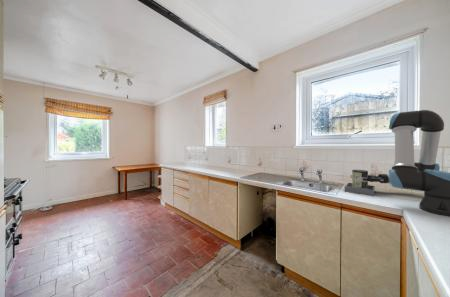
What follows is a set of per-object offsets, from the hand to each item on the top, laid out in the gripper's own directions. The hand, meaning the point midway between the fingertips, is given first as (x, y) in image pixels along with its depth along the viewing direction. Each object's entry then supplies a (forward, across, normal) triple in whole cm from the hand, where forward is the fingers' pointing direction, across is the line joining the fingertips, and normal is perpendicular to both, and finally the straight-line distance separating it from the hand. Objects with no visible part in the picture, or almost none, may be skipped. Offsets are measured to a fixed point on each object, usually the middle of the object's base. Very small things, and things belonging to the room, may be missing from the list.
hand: (353, 177), depth 138 cm
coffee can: (-4, 0, -8) cm, 9 cm away
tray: (-4, 0, -11) cm, 12 cm away
